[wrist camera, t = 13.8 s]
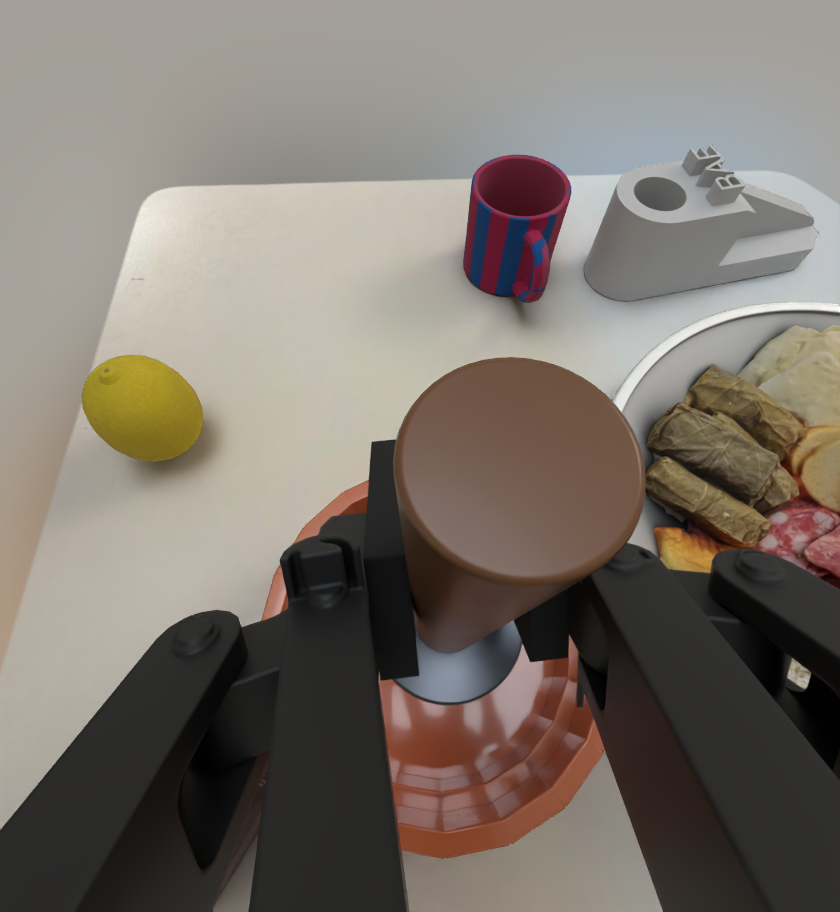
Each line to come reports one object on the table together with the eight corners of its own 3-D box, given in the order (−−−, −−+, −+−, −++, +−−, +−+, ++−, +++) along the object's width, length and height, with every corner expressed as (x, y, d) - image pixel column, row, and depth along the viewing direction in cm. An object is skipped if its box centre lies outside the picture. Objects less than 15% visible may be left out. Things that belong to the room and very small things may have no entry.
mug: (539, 234, 39) (561, 152, 33) (560, 329, 35) (590, 254, 29) (459, 237, 39) (467, 155, 33) (471, 332, 35) (482, 259, 28)
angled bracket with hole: (809, 266, 37) (903, 169, 30) (600, 306, 36) (646, 213, 28) (771, 219, 40) (849, 118, 32) (573, 254, 38) (609, 156, 31)
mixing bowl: (257, 779, 23) (206, 813, 17) (330, 487, 29) (310, 445, 24) (576, 840, 22) (628, 895, 16) (579, 523, 28) (617, 488, 23)
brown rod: (361, 689, 16) (103, 754, 3) (388, 543, 18) (304, 220, 5) (511, 715, 16) (936, 911, 3) (520, 563, 18) (781, 269, 5)
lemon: (217, 477, 30) (151, 414, 22) (129, 482, 30) (34, 421, 22) (226, 403, 32) (169, 324, 25) (145, 407, 32) (64, 330, 25)
